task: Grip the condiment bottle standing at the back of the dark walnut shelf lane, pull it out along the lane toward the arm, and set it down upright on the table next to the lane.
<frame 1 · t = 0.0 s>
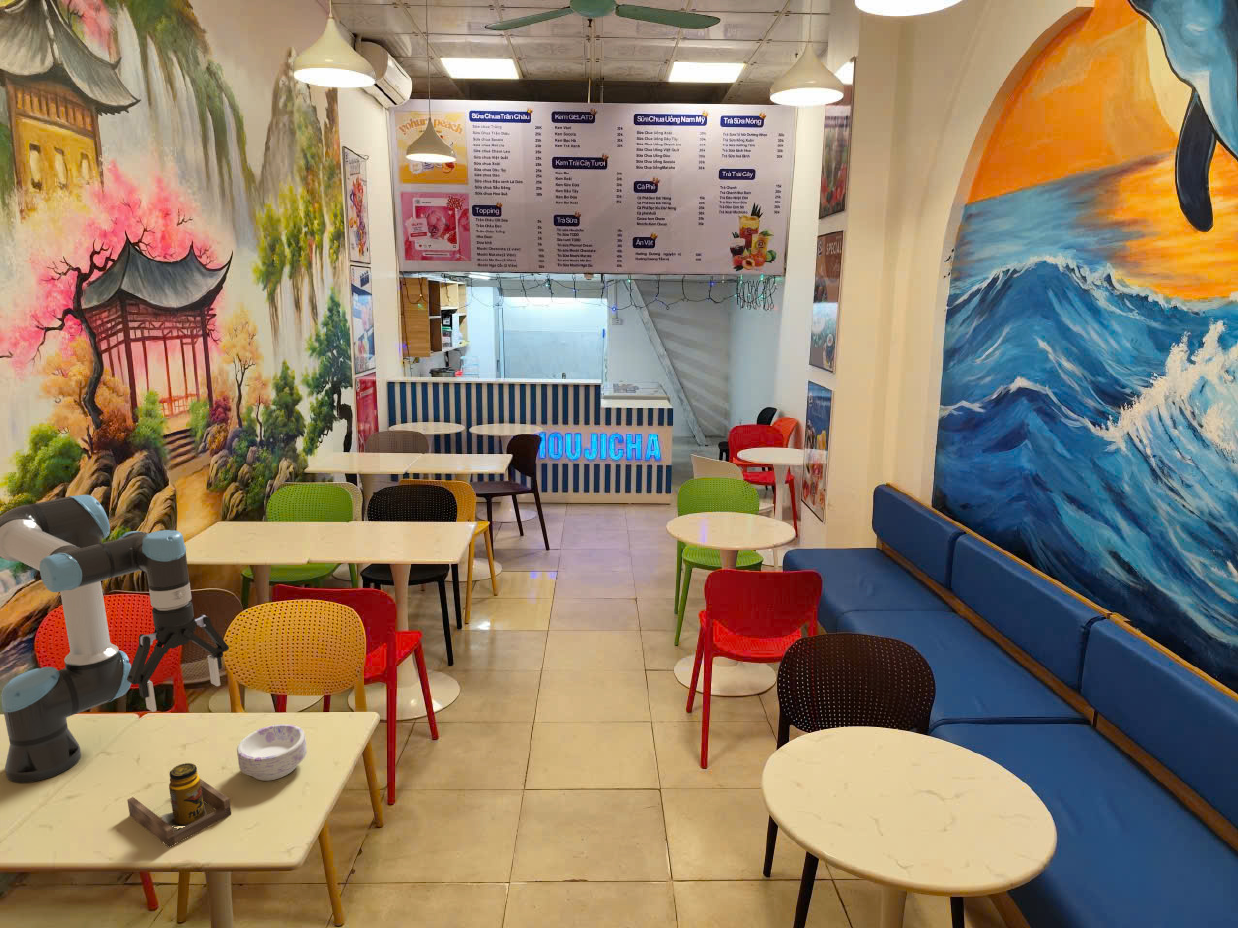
hand: (184, 696, 176), 28 cm above the table, tool pointing down, fingers open, 13 cm apart
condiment: (185, 819, 180), resting in walnut shelf lane
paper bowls: (274, 770, 198), on the table
walnut shelf lane: (180, 814, 181), on the table
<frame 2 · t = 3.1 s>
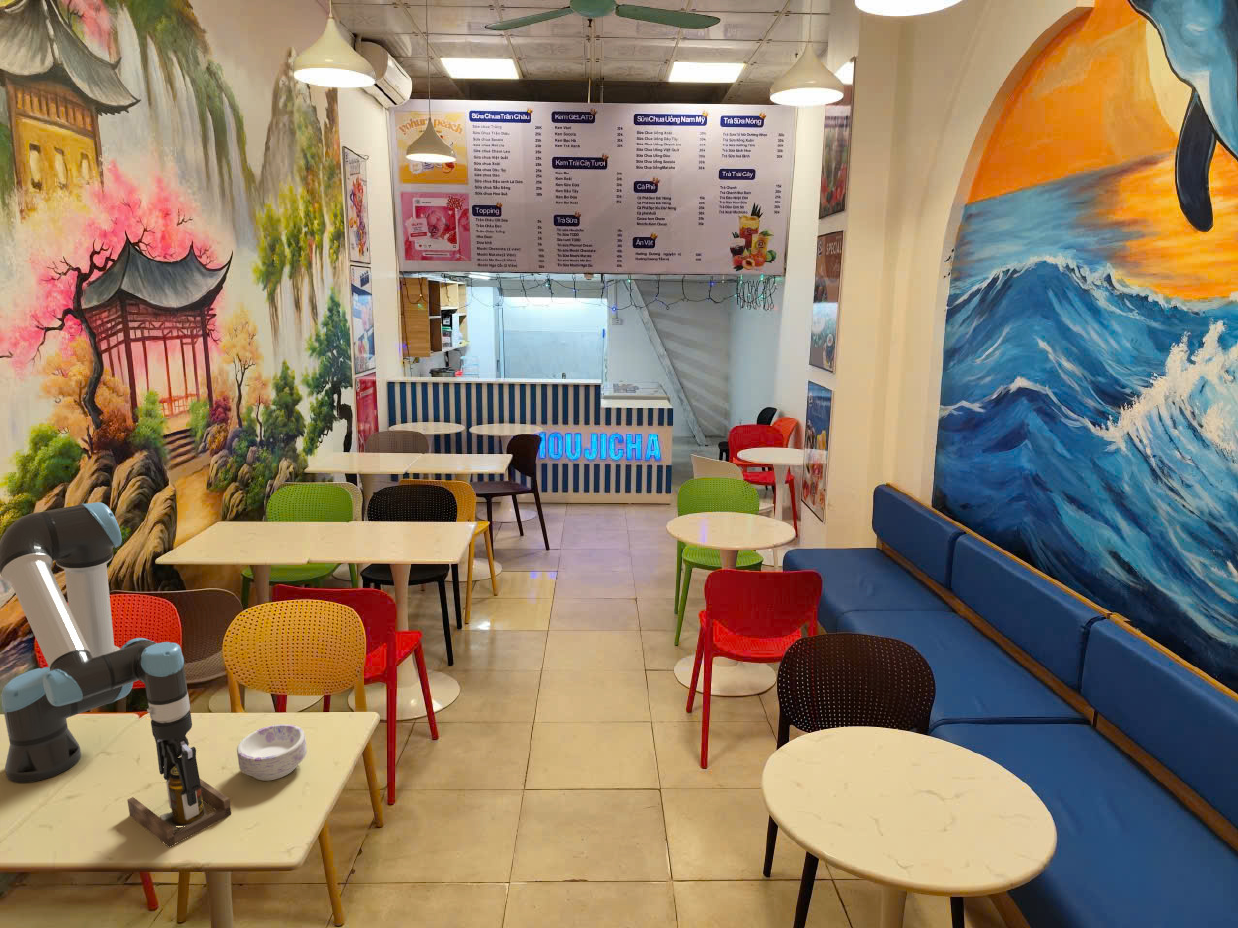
hand: (184, 810, 179), 2 cm above the table, tool pointing down, fingers closed on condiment, 6 cm apart
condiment: (184, 818, 180), resting in walnut shelf lane, touching gripper
everything else where it was.
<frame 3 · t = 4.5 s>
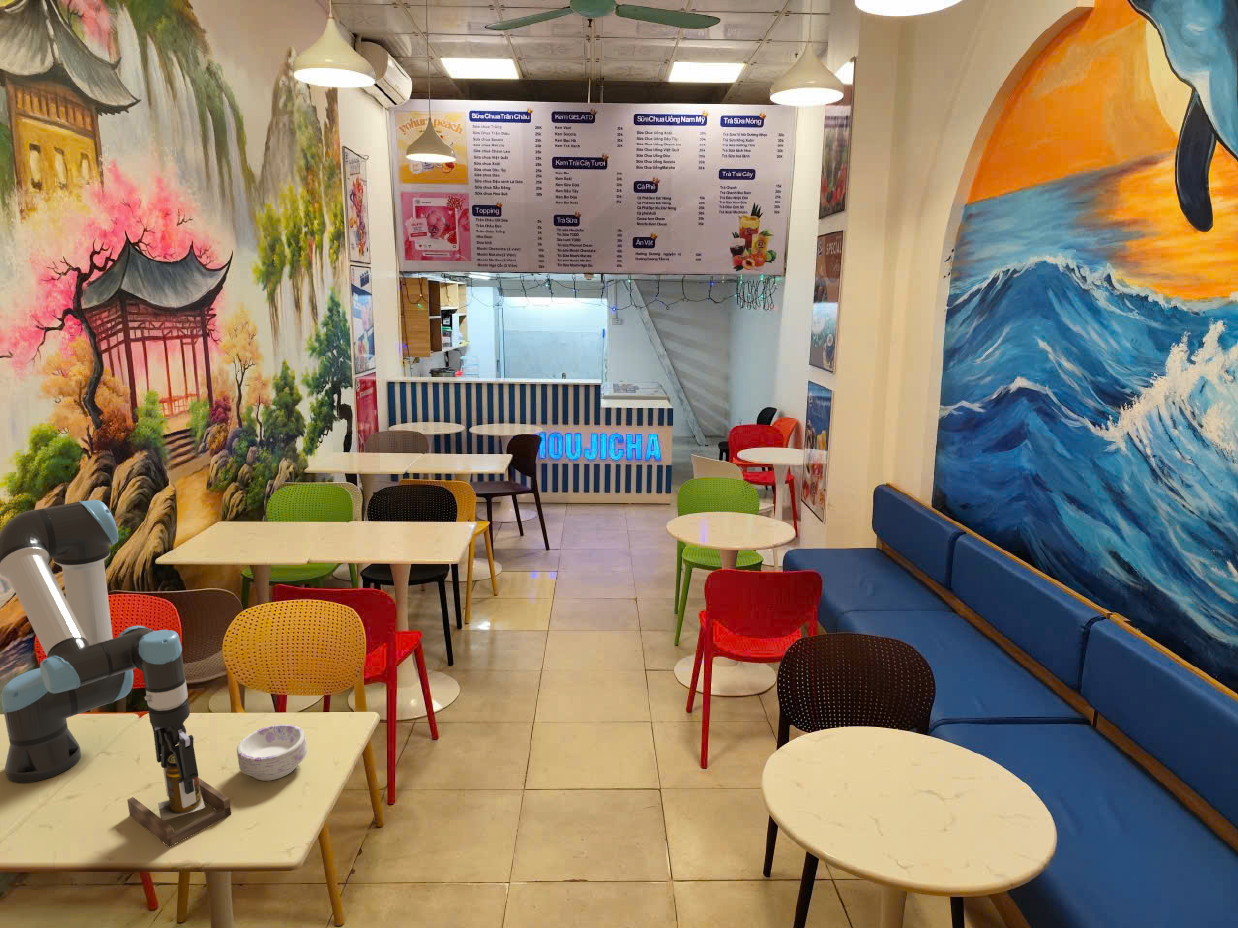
hand: (181, 798, 179), 5 cm above the table, tool pointing down, fingers closed on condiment, 6 cm apart
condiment: (181, 807, 180), point 2 cm above the table, touching gripper
everything else where it was.
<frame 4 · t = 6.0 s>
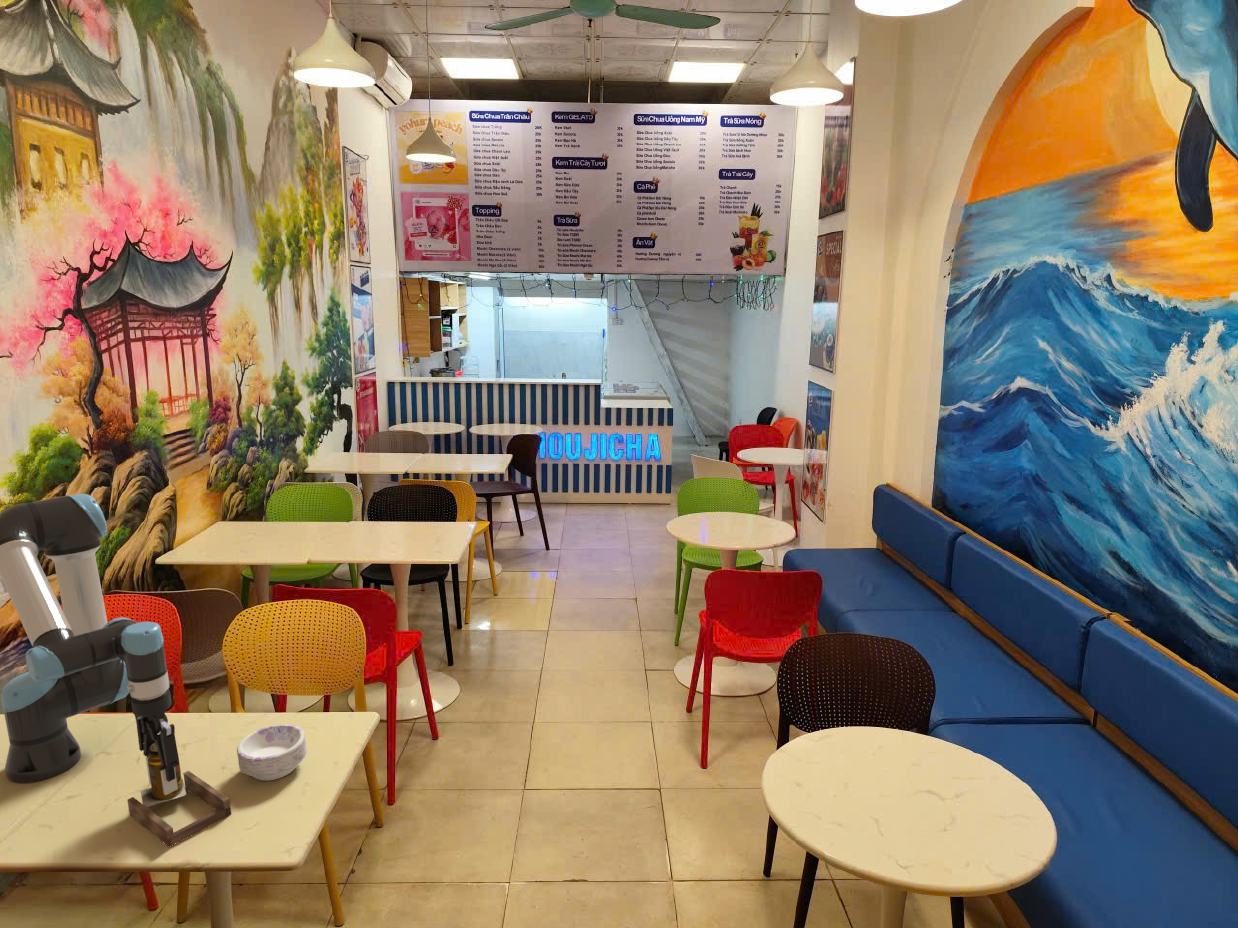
hand: (163, 785, 184), 5 cm above the table, tool pointing down, fingers closed on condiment, 6 cm apart
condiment: (163, 794, 185), point 2 cm above the table, touching gripper
everything else where it was.
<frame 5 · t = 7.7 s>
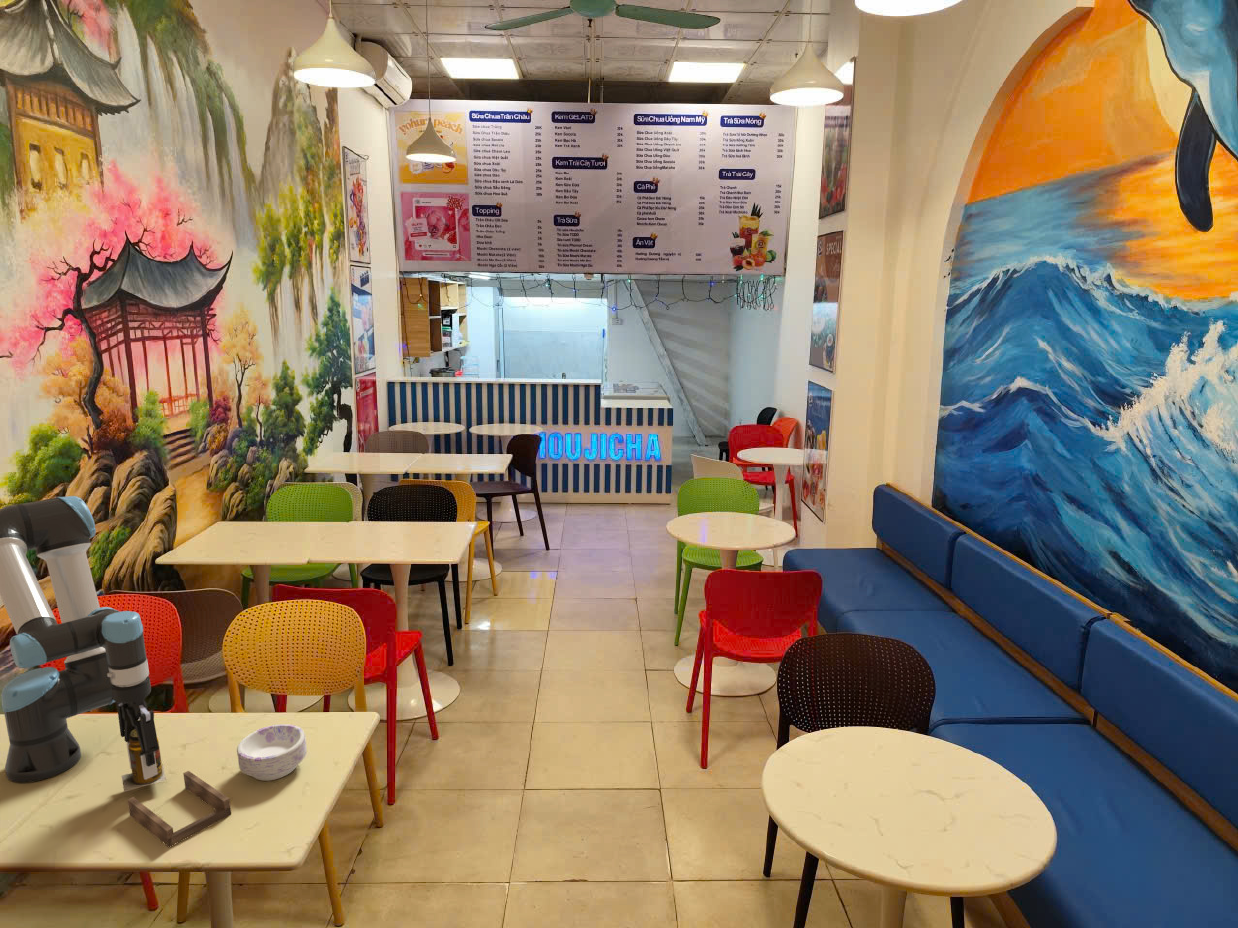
hand: (143, 771, 189), 5 cm above the table, tool pointing down, fingers closed on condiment, 6 cm apart
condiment: (144, 779, 190), point 2 cm above the table, touching gripper
everything else where it was.
when the fingers open (3 cm above the table, at t = 8.9 s): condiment drops 1 cm, on the table.
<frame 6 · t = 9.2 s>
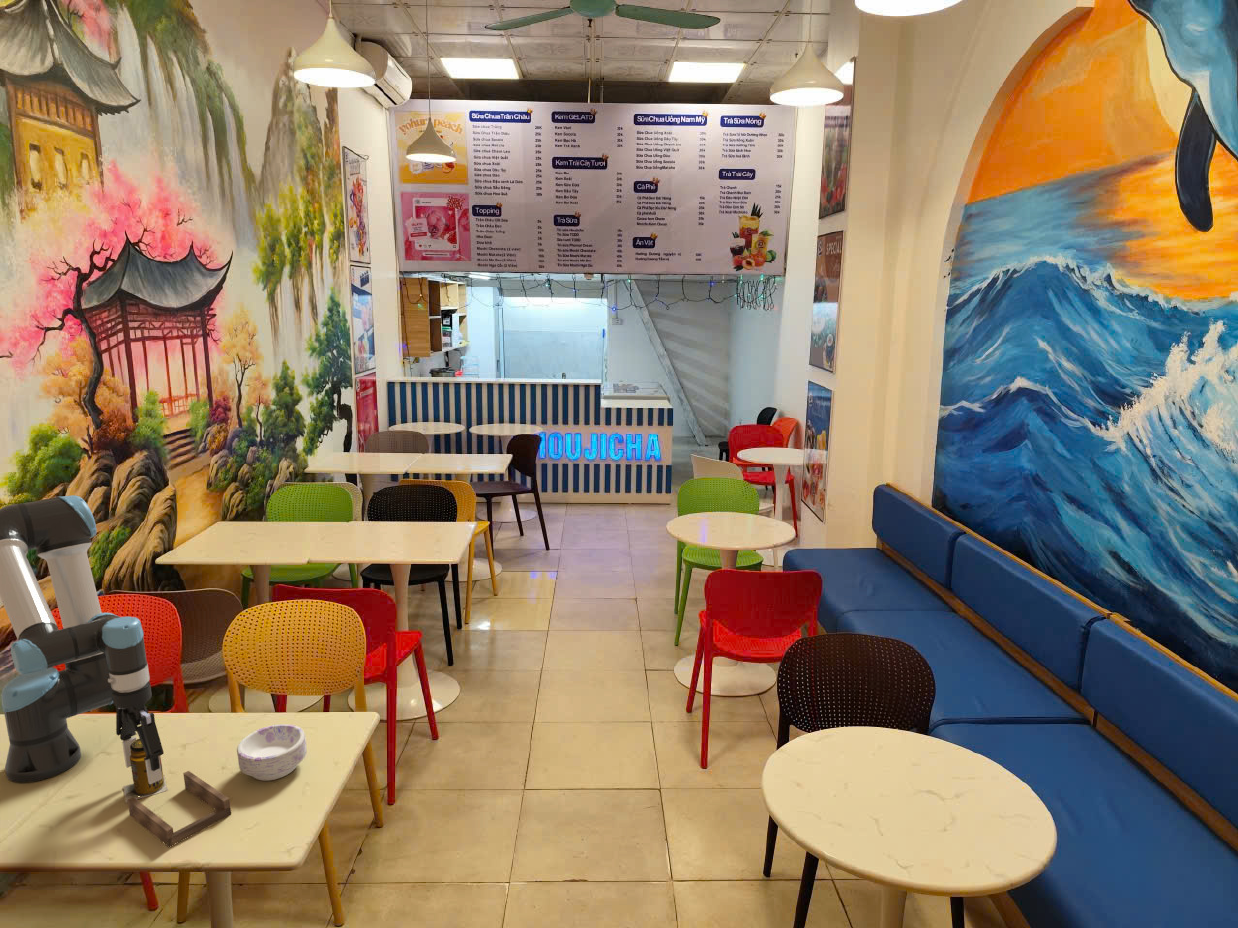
hand: (144, 772, 189), 4 cm above the table, tool pointing down, fingers open, 10 cm apart
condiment: (145, 789, 191), on the table
everything else where it was.
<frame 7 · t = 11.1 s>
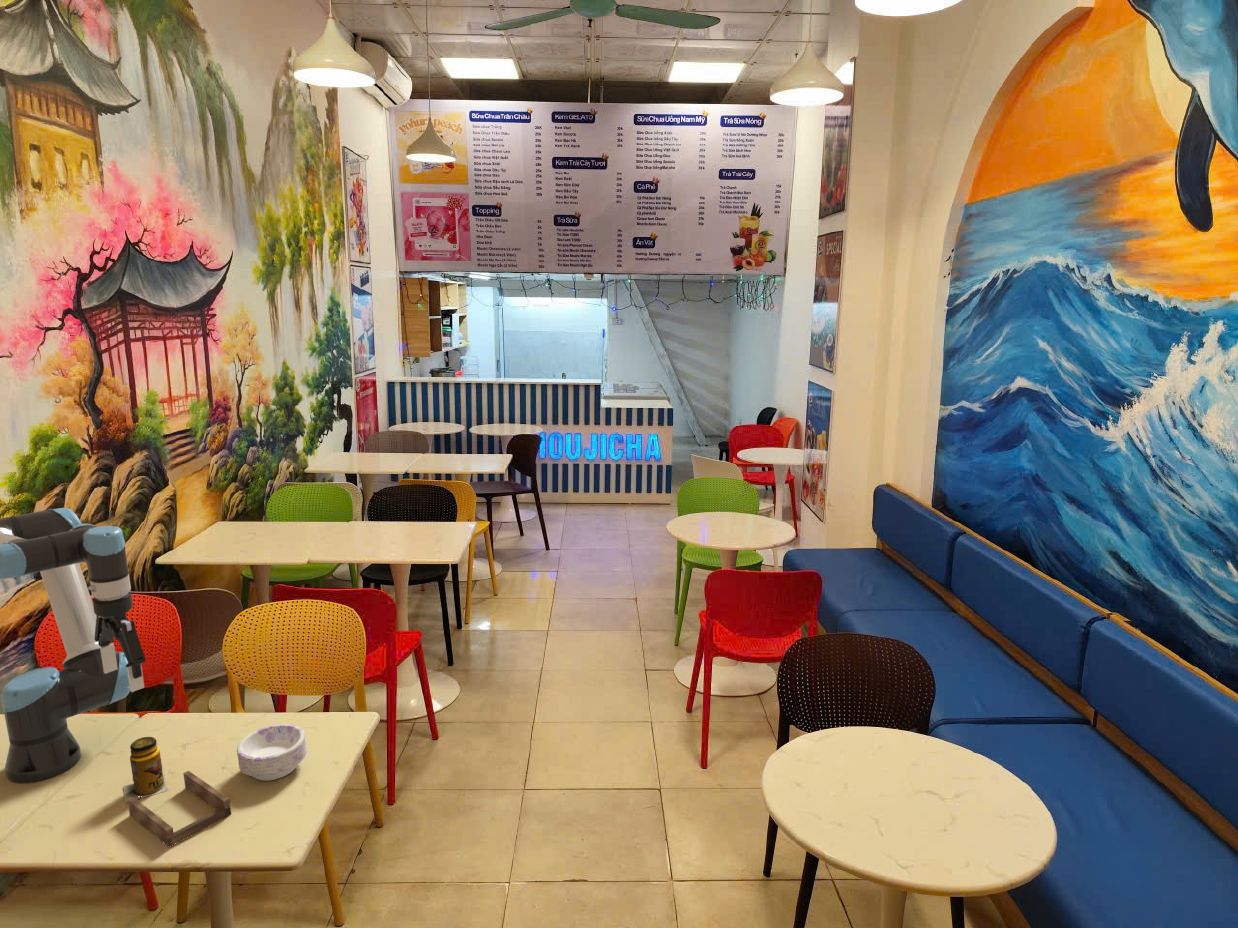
hand: (123, 680, 189), 25 cm above the table, tool pointing down, fingers open, 13 cm apart
nothing on the table moved.
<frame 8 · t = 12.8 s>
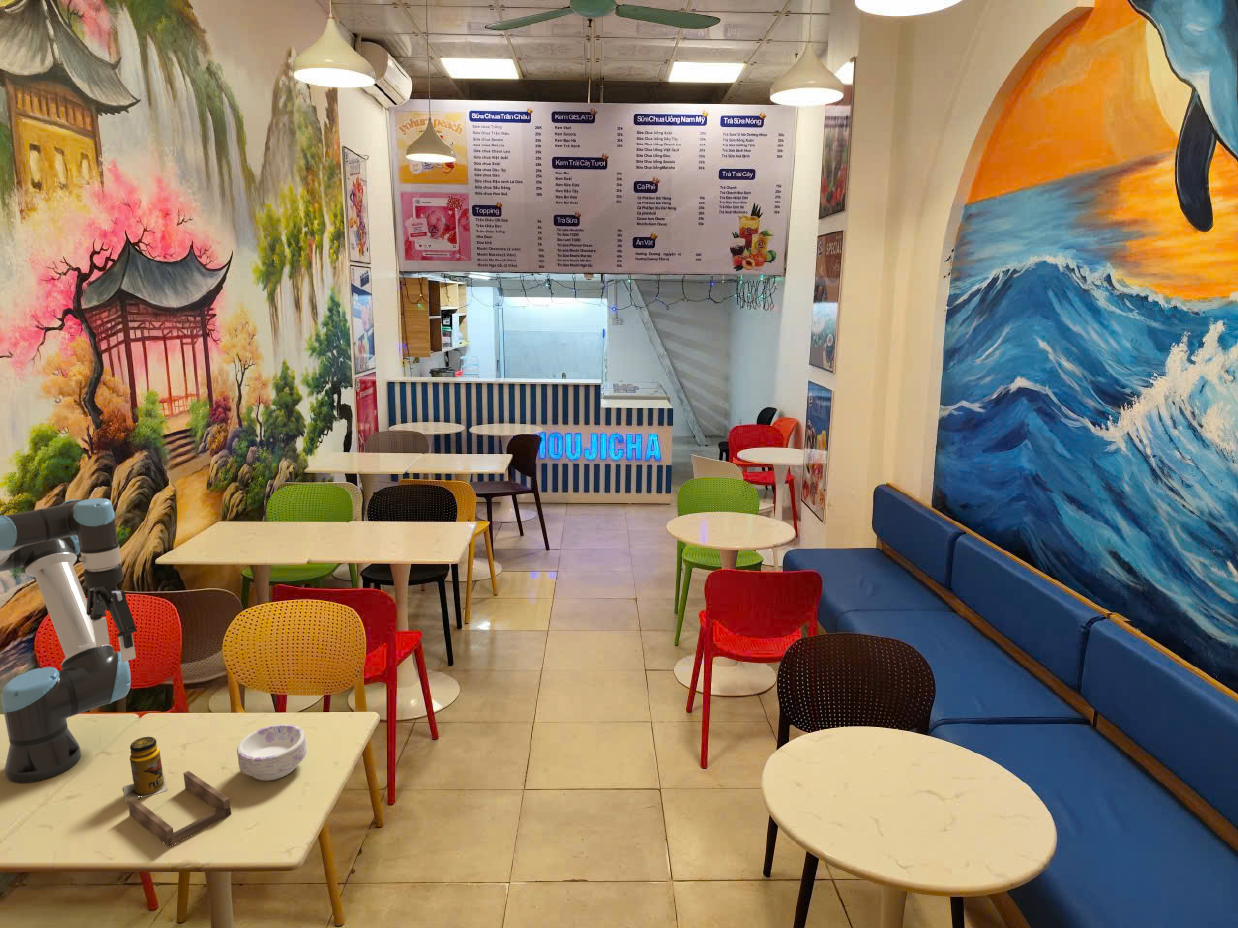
hand: (115, 652, 192), 31 cm above the table, tool pointing down, fingers open, 13 cm apart
nothing on the table moved.
at the end: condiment inside the target area (1.0 cm from its centre), on the table; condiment tilted 0°; the gripper is holding nothing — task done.
